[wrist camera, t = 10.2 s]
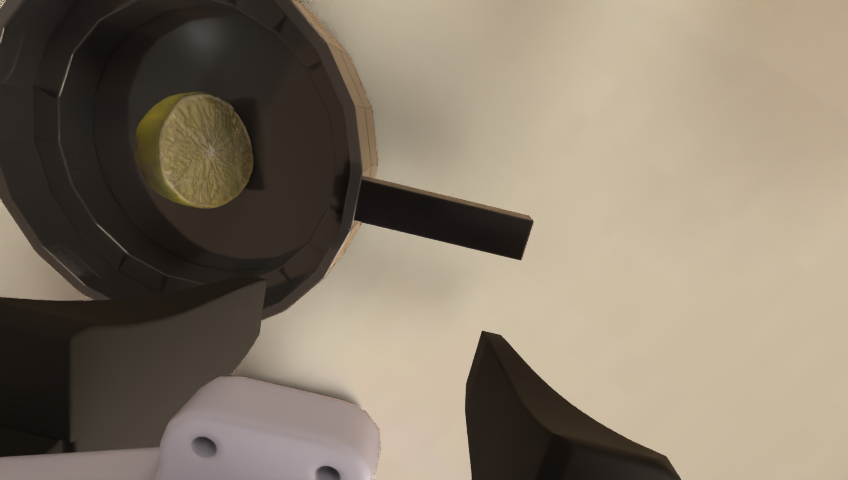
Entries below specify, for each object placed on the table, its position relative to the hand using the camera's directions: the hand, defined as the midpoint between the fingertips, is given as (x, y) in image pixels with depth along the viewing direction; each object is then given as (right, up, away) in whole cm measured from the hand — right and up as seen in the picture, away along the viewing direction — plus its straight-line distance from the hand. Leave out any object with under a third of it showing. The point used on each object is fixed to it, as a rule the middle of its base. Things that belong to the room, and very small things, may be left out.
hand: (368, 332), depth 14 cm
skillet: (-8, +8, +8) cm, 14 cm away
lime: (-8, +8, +8) cm, 14 cm away
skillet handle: (+2, +4, +5) cm, 7 cm away
